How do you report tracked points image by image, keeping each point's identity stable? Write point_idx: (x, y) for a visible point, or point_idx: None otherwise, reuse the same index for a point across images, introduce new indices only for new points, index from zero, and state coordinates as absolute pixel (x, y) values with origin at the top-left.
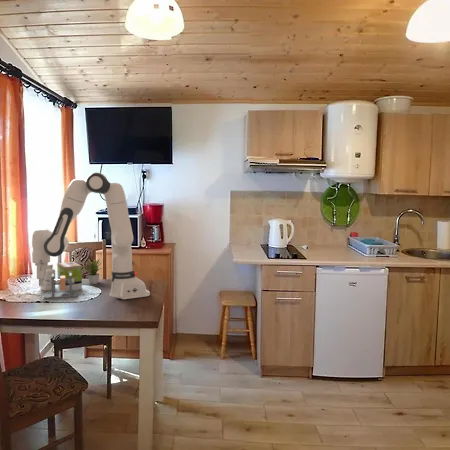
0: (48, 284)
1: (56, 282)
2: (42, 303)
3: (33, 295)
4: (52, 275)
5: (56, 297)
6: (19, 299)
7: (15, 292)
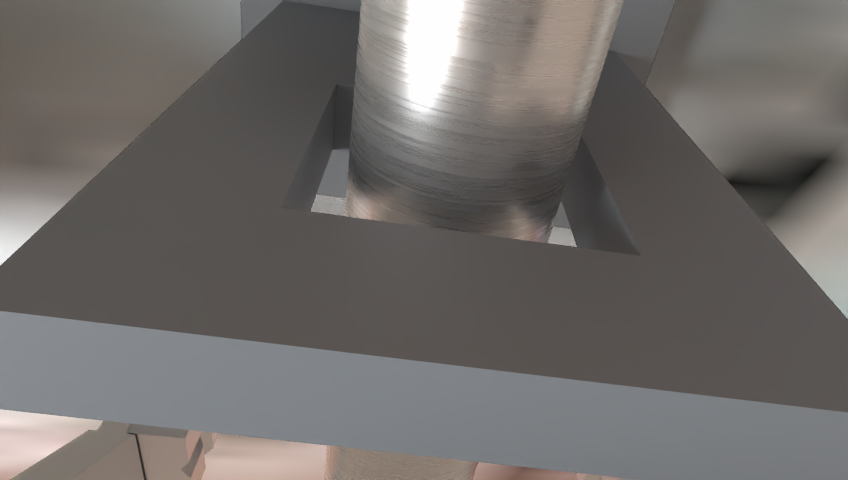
0: None
1: (596, 87)
2: (814, 250)
3: None
4: (562, 440)
5: (668, 4)
6: None
7: (10, 455)
